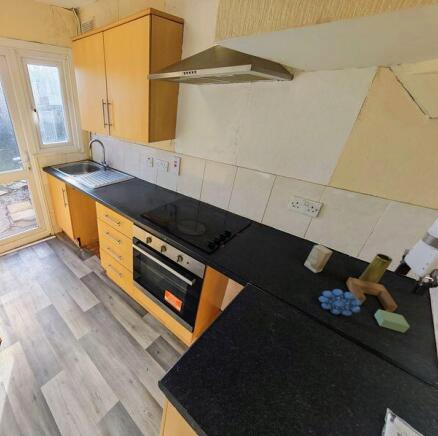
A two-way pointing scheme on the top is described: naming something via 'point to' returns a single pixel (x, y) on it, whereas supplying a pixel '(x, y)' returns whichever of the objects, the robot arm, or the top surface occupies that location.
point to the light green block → (391, 320)
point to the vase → (376, 268)
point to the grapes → (340, 302)
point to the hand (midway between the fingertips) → (407, 283)
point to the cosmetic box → (318, 258)
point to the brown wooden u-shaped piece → (371, 292)
